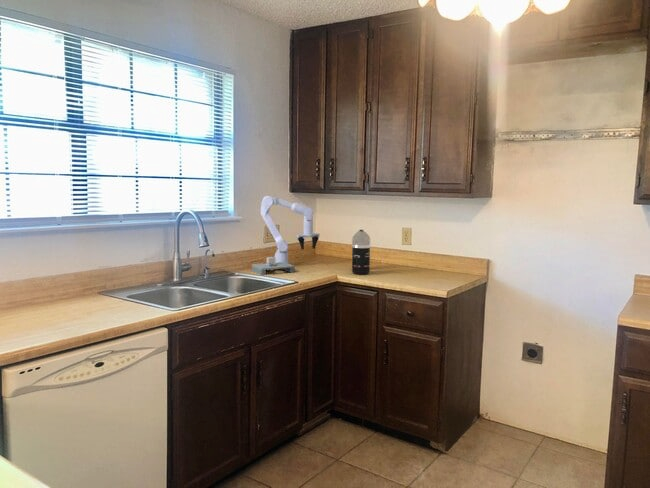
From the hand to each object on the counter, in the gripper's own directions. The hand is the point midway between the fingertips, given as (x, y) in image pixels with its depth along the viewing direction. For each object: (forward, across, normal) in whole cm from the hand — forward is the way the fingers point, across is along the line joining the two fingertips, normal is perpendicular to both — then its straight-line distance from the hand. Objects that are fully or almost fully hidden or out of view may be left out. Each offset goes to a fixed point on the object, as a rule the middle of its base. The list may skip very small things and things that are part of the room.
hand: (308, 249), depth 323 cm
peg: (+10, -27, -7) cm, 30 cm away
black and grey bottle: (+11, +15, -38) cm, 42 cm away
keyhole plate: (+10, -27, -10) cm, 31 cm away
